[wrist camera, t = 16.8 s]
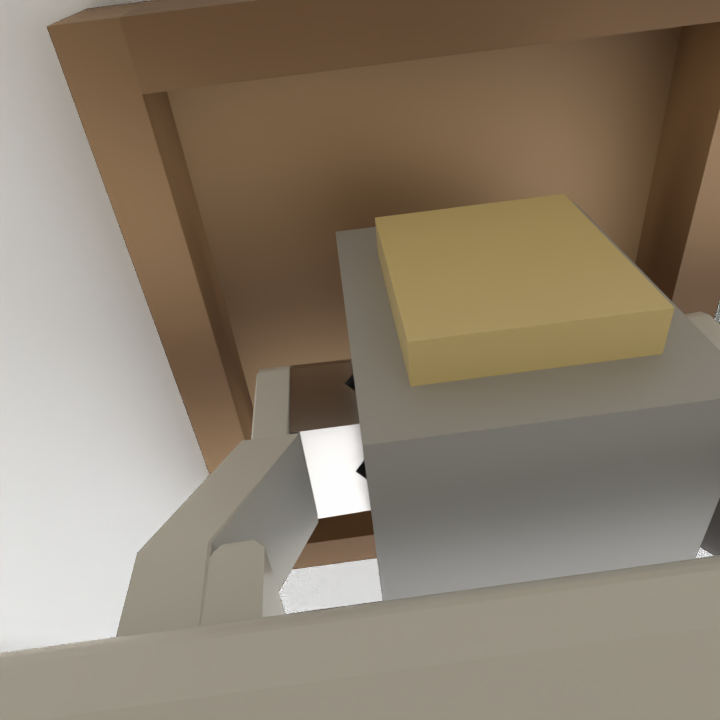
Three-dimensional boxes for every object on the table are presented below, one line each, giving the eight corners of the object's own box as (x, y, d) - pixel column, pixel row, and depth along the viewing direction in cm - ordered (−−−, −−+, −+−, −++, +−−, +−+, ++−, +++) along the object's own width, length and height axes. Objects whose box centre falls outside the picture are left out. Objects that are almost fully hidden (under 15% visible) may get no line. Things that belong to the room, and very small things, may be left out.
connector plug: (540, 472, 14) (639, 697, 10) (369, 495, 14) (400, 730, 10) (579, 165, 10) (782, 344, 6) (331, 196, 10) (356, 398, 6)
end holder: (620, 466, 18) (652, 520, 16) (250, 515, 18) (246, 575, 16) (746, -74, 10) (833, -72, 8) (87, 8, 10) (47, 26, 8)
